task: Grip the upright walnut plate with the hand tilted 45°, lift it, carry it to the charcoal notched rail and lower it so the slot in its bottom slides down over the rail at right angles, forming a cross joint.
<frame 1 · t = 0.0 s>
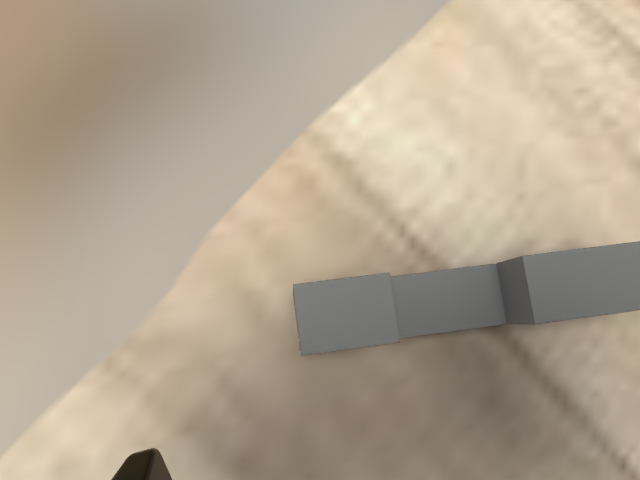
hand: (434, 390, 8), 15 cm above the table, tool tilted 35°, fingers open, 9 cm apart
charcoal rail: (427, 303, 24), on the table
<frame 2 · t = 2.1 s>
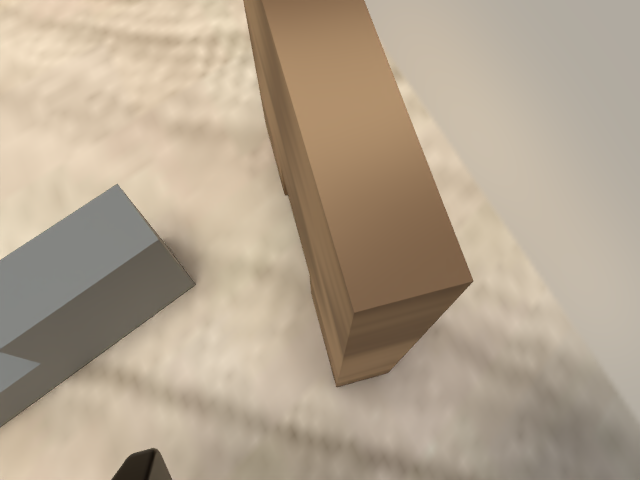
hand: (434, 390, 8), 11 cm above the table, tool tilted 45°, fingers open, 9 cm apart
walnut plate: (320, 236, 22), on the table
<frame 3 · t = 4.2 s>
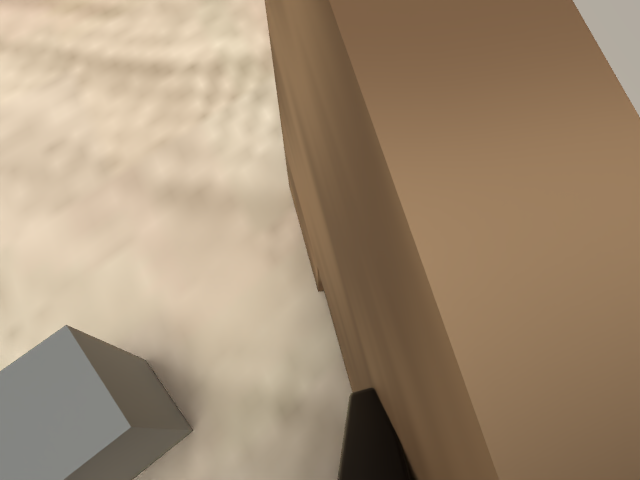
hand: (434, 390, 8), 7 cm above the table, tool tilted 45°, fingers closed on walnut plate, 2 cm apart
walnut plate: (370, 355, 15), on the table, touching gripper
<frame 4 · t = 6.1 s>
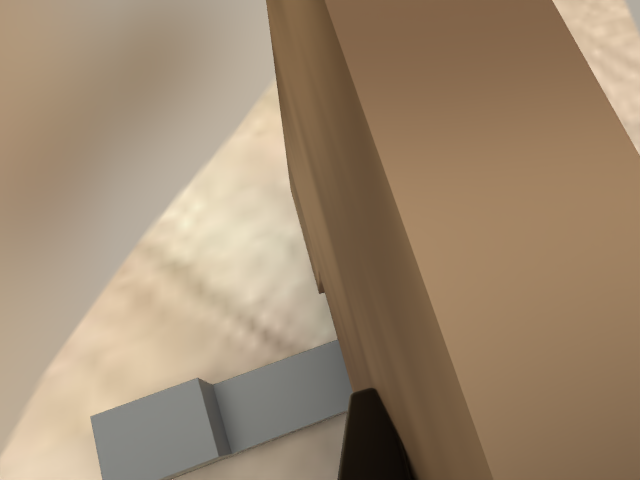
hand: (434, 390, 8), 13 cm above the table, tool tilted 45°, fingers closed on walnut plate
walnut plate: (371, 356, 15), point 7 cm above the table, touching gripper
charcoal rail: (291, 398, 21), on the table
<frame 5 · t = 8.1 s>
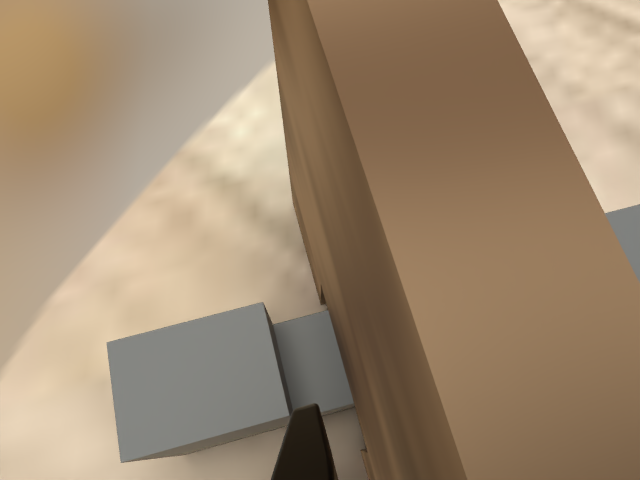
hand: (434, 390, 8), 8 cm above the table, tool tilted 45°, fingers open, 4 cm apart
walnut plate: (370, 365, 16), on the table, touching charcoal rail
charcoal rail: (367, 359, 16), on the table
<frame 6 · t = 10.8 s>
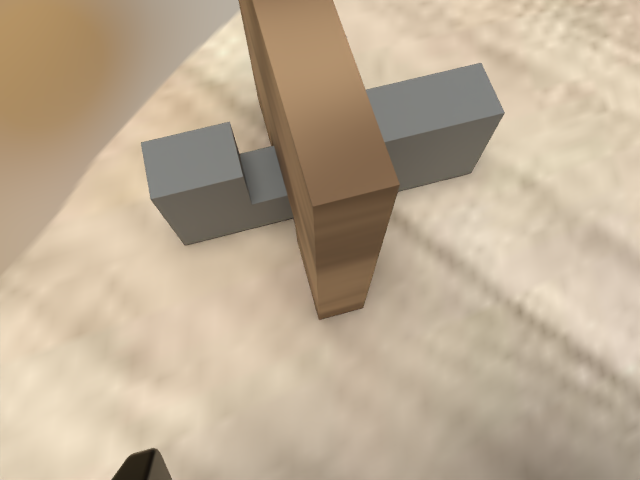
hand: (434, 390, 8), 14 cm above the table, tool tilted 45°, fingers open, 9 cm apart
walnut plate: (306, 194, 25), on the table, touching charcoal rail
charcoal rail: (304, 190, 25), on the table
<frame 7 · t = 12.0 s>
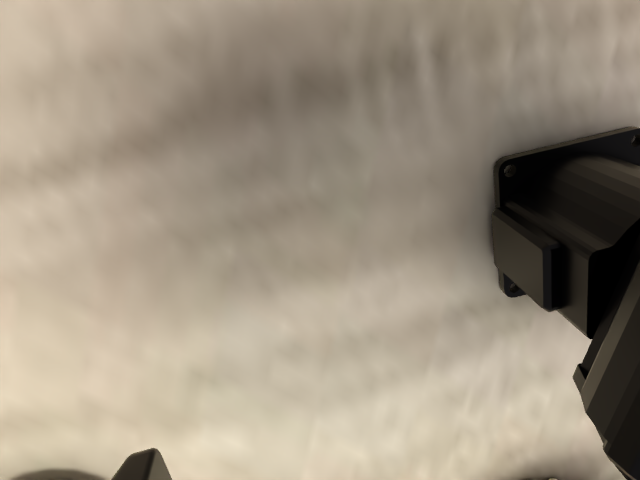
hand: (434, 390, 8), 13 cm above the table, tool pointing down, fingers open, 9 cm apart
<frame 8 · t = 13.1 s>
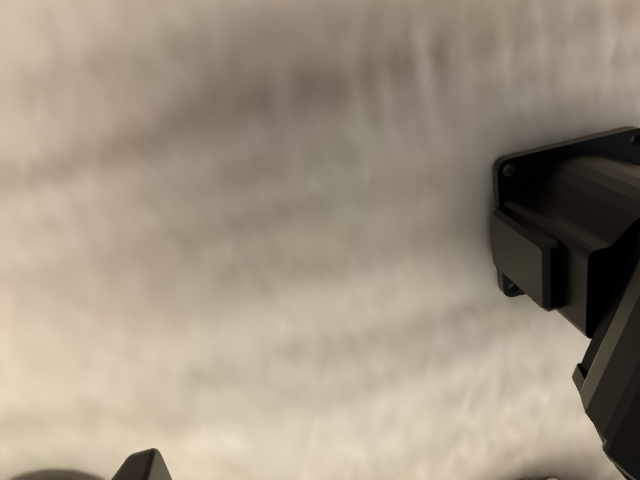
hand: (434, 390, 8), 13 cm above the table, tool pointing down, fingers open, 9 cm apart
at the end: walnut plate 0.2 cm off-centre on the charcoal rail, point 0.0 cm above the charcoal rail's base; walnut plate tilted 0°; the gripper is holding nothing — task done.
